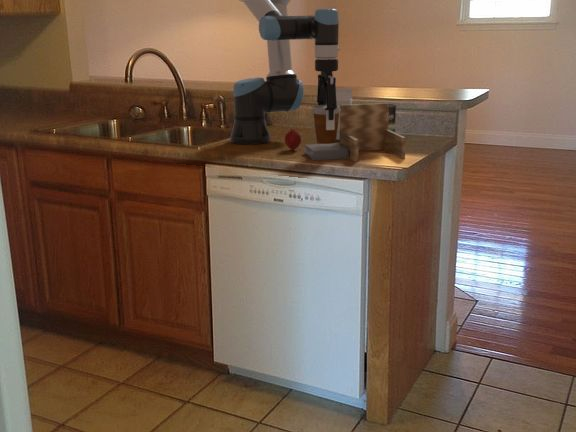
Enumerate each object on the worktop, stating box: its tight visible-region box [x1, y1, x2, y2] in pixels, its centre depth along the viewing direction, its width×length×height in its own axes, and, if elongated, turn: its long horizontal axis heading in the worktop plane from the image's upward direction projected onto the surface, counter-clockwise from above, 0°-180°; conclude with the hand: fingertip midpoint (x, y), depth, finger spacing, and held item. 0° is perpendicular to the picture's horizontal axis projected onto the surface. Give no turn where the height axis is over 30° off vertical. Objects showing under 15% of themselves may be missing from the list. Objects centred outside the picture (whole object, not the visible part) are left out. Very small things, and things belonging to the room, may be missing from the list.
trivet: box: [304, 142, 350, 161], centre depth 223 cm, size 12×12×3 cm
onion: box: [284, 127, 302, 151], centre depth 232 cm, size 6×6×8 cm
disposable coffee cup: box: [311, 104, 341, 144], centre depth 220 cm, size 10×10×12 cm
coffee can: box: [388, 103, 397, 133], centre depth 241 cm, size 10×10×14 cm
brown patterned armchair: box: [339, 102, 407, 162], centre depth 221 cm, size 17×18×16 cm
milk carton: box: [336, 88, 353, 141], centre depth 252 cm, size 7×7×19 cm
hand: (326, 127), depth 221 cm, fingers closed on disposable coffee cup, 9 cm apart
